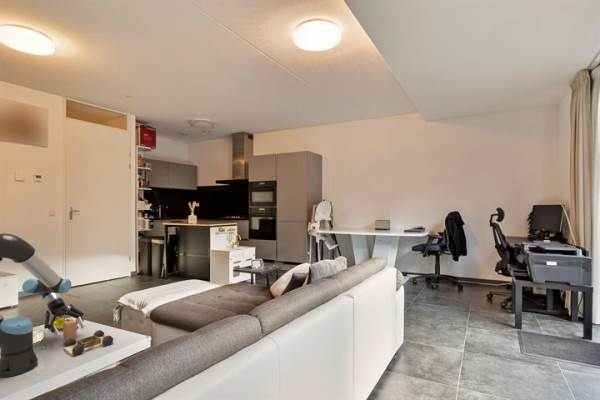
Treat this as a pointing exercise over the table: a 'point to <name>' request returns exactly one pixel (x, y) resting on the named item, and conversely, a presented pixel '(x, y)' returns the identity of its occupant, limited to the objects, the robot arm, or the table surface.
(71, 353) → the chassis
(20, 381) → the table surface
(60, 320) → the toy boat
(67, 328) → the pink rectangular block
